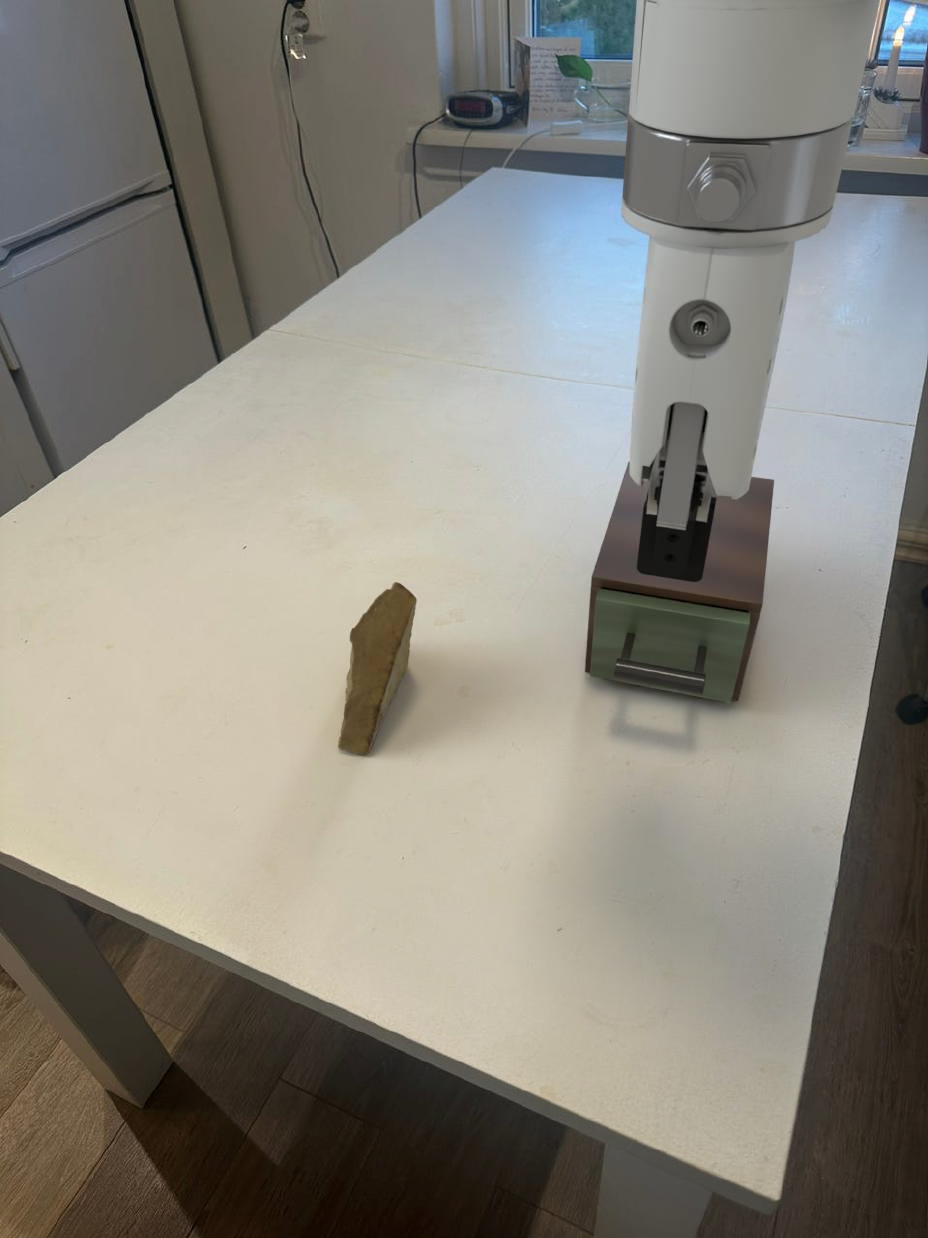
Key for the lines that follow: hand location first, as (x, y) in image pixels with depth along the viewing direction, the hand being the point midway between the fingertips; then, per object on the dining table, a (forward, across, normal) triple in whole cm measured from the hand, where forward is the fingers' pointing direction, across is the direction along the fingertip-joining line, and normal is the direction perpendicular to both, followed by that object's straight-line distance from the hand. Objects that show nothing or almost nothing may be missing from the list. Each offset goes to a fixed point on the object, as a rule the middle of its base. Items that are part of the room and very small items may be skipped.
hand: (670, 567), depth 44 cm
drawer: (+20, +16, 0) cm, 26 cm away
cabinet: (+21, +20, 0) cm, 29 cm away
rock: (+21, +5, +21) cm, 30 cm away
